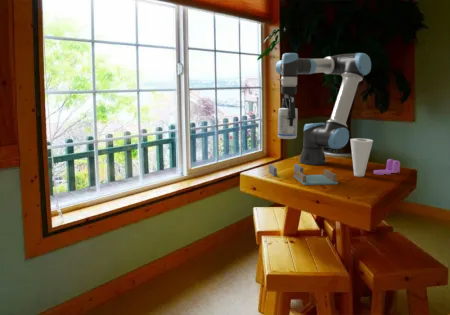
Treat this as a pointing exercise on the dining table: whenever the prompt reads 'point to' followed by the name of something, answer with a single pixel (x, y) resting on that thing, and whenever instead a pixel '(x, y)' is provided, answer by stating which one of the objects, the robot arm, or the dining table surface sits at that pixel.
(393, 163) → the bracket
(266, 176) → the dining table surface
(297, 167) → the holder
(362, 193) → the dining table surface
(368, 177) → the dining table surface
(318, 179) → the docking bay
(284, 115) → the supplement tub
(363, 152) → the cup
